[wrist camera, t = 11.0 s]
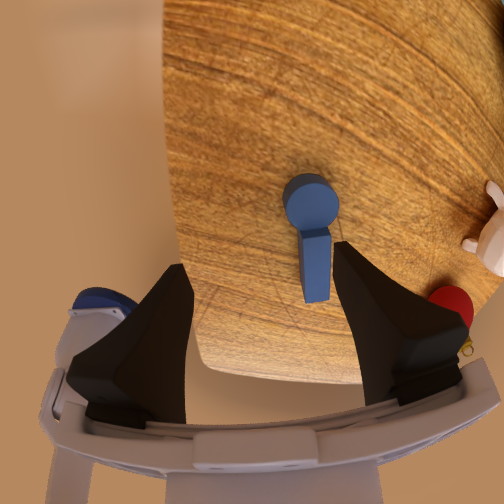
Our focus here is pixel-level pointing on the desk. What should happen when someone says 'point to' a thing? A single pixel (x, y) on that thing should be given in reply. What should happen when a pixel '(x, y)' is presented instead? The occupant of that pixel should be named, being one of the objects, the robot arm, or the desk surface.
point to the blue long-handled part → (312, 231)
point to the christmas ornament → (456, 306)
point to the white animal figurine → (491, 236)
